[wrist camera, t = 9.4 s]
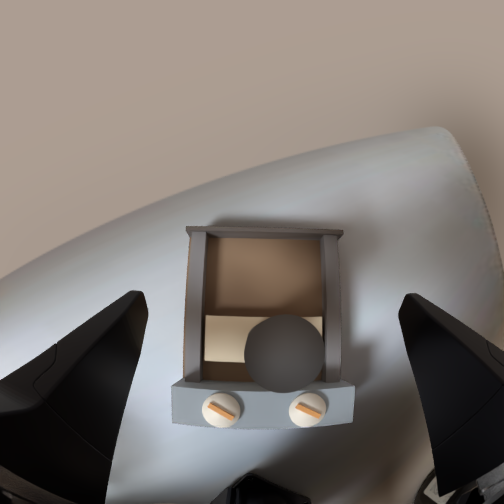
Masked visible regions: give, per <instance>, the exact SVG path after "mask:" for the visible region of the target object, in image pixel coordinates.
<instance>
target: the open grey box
mask: <svg viewBox="0 0 504 504" xmlns="http://www.w3.org/2000/svg"><path fill="white" fill-rule="evenodd" d="M186 232H187V233H188V235H189V237H190V242H189V254H188V266H187V280H186V296H185V316H184V345H183V378H185V382H195V383H200V382H201V381H202V380H213V381H233V382H255V381H254V380H253V379H252V378H251V376H250V375H249V373H248V371H247V369H246V366H245V363H244V362H219V361H205V325H206V315H209V316H235V317H273V316H276V315H283V314H289V315H296V316H299V317H322V338H323V342H324V346H325V359H324V364H323V366H322V369H321V371H320V373H319V374H318V376H317V377H316V378H315V379H314V381H316V380H322V381H323V382H325V383H334V382H340V370H341V295H340V271H339V255H338V240H339V239H340V237H341V236H342V235H343V234H344V233H343V230H329V229H302V228H268V227H216V226H186Z"/></svg>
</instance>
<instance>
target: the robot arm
mask: <svg viewBox="0 0 504 504" xmlns="http://www.w3.org/2000/svg"><path fill="white" fill-rule="evenodd" d="M398 317H399V321H400V325H401V329H402V334H403V338H404V342H405V347H406V351H407V354H408V358H409V361H410V364H411V367H412V370H413V374H414V377H415V381H416V384H417V388H418V391H419V395H420V399H421V402H422V406H423V410H424V414H425V419H426V423H427V428H428V432H429V437H430V442H431V447H432V454H433V459H434V466H435V472H436V480H437V489H438V496H439V498H440V497H442V496H444V495H447V494H449V493H451V492H453V491H455V490H457V489H459V488H461V487H463V486H465V485H467V484H469V483H471V482H473V481H475V480H476V483H477V486H476V487H474V488H473V489H471V490H469V491H468V492H466V493H464V494H463V495H461V498H460V500H459V502H458V504H504V351H502V350H501V349H499V348H498V347H496V346H495V345H494V344H492V343H491V342H489V341H488V340H486V339H485V338H484V337H482V336H481V335H479V334H478V333H476V332H475V331H474V330H472V329H471V328H469V327H468V326H466V325H465V324H463V323H462V322H460V321H459V320H457V319H456V318H454V317H453V316H451V315H450V314H448V313H447V312H445V311H444V310H442V309H441V308H439V307H438V306H436V305H434V304H433V303H431V302H430V301H428V300H427V299H425V298H423V297H422V296H420V295H419V294H417V293H409V294H406V296H405V297H404V300H403V302H402V305H401V307H400V310H399V313H398ZM147 320H148V308H147V304H146V300H145V296H144V293H143V292H142V291H135V290H131V291H129V292H128V293H126V294H125V295H123V296H122V297H120V298H119V299H118V300H116V301H115V302H113V303H112V304H110V305H109V306H107V307H106V308H104V309H103V310H102V311H100V312H99V313H97V314H96V315H94V316H93V317H92V318H90V319H89V320H87V321H86V322H85V323H83V324H82V325H80V326H79V327H77V328H76V329H75V330H73V331H72V332H70V333H69V334H68V335H66V336H65V337H64V338H62V339H61V340H59V341H58V342H57V344H56V343H55V344H54V345H53V346H51V347H50V348H49V349H47V350H46V351H44V352H43V353H41V354H40V355H39V356H37V357H36V358H34V359H33V360H31V361H30V362H28V363H27V364H25V365H23V366H22V367H20V368H19V369H17V370H15V371H14V372H12V373H11V374H9V375H8V376H6V377H4V378H3V379H1V380H0V504H105V498H106V492H107V486H108V481H109V476H110V470H111V465H112V460H113V455H114V451H115V446H116V442H117V437H118V433H119V429H120V425H121V421H122V417H123V413H124V409H125V406H126V402H127V398H128V395H129V391H130V388H131V384H132V381H133V377H134V374H135V371H136V367H137V364H138V361H139V357H140V354H141V349H142V344H143V339H144V334H145V329H146V324H147ZM248 478H253V479H252V480H248ZM304 502H307V503H304ZM303 503H304V504H311V500H310V499H309V498H307V497H304V496H302V495H299V494H297V493H294V492H292V491H289V490H287V489H285V488H283V487H280V486H278V485H276V484H274V483H272V482H269V481H267V480H265V479H263V478H261V477H259V476H257V475H255V474H253V473H248V474H246V475H244V476H243V477H242V478H241V479H240V480H239V481H238V482H237V483H236V484H235V485H234V486H233V487H227V488H226V489H225V490H224V491H223V492H222V493H221V494H220V495H218V496H217V497H216V498H215V499H214V500H213V501H212V502H211V504H303Z"/></svg>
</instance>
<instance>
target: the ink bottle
mask: <svg viewBox="0 0 504 504" xmlns="http://www.w3.org/2000/svg"><path fill="white" fill-rule="evenodd" d="M476 486H477V483H476V480H475V481H473V482H471V483H469V484H467V485H465V486H463V487H461V488H459V489H457V490H455V491H453V492H451V493H449V494H447V495H444V496H442V497H440V498H439V496H438V489H437V480H436V472H435V470H434V471H433V472H432V473H431V474H430V475H429V477H428V478H427V479H426V480H425V482H424V483H423V485H422V486H421V488H420V490H419V492H418V494H417V496H416V499H415V502H414V504H458V502H459V500H460V498H461V495H463V494H464V493H466V492H468V491H469V490H471V489H473V488H474V487H476Z"/></svg>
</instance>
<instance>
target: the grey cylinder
mask: <svg viewBox="0 0 504 504" xmlns="http://www.w3.org/2000/svg"><path fill="white" fill-rule="evenodd" d="M324 359H325V346H324V342H323V338H322V317H299V316H296V315H289V314H283V315H276V316H273V317H235V316H209V315H206V325H205V361H219V362H244V363H245V366H246V369H247V371H248V373H249V375H250V376H251V378H252V379H253V380H254V381H255V382H256V383H257V384H258V385H259V386H261V387H262V388H264V389H266V390H268V391H271V392H275V393H291V392H295V391H298V390H301V389H303V388H305V387H306V386H308V385H309V384H310V383H311V382H313V381H314V379H315V378H316V377H317V376H318V374H319V373H320V371H321V369H322V366H323V364H324Z"/></svg>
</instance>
